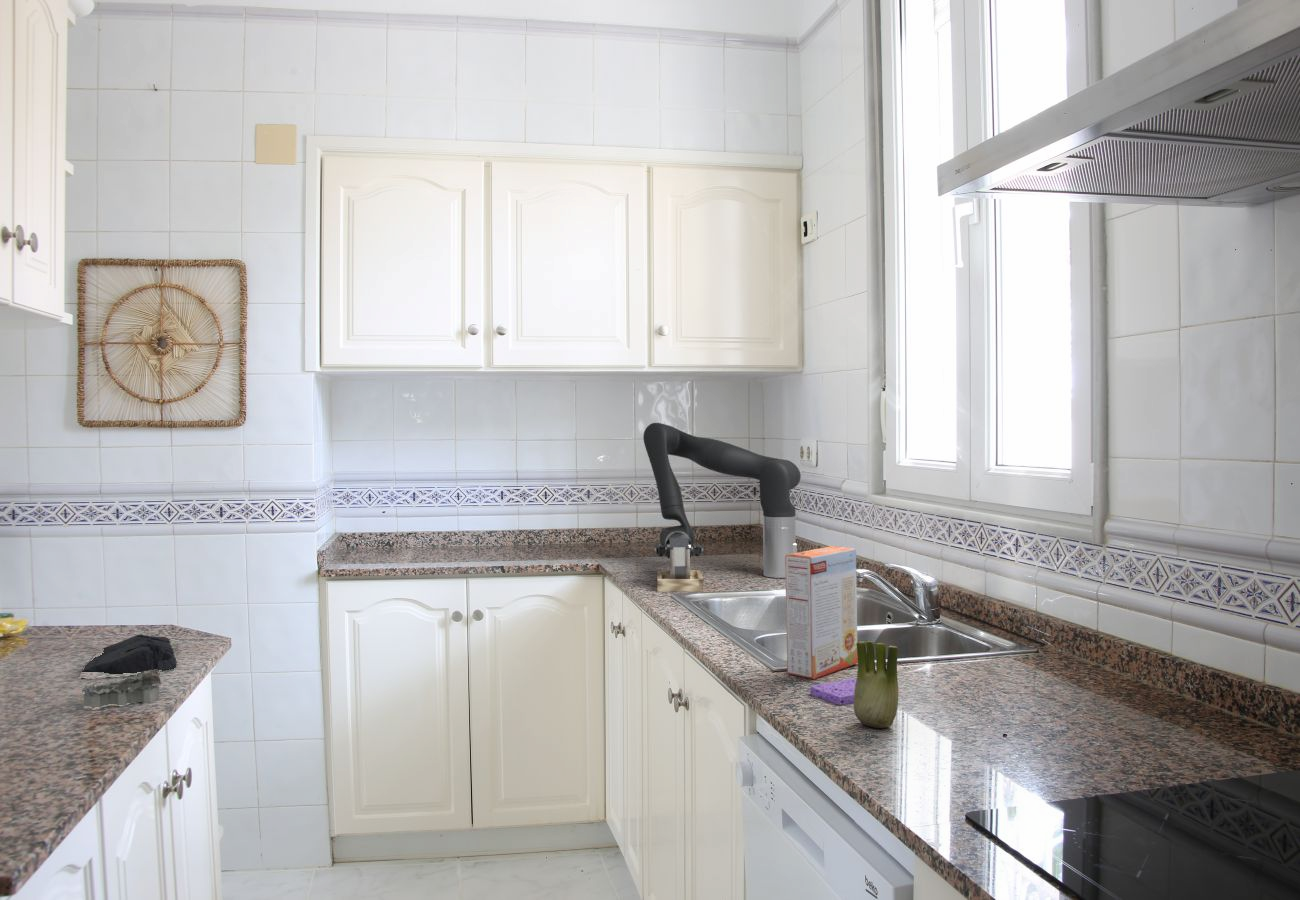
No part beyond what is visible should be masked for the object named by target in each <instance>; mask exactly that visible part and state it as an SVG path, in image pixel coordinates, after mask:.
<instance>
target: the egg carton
mask: <svg viewBox="0 0 1300 900" xmlns="http://www.w3.org/2000/svg"><path fill="white" fill-rule="evenodd" d="M160 673H161V672H159V669H156V670H149V671H143V672H141V673H138V674H137V676H129V677H125V679H122V680H118V681H109V682H105V683H103V684H101V685H100V684H98V685H96V686H95V684H91V685H89V684H88V685H87V684H85V685H84V687H83V688H82V690H81V691H82V693H83V692H84V694H83V696H82V698H83V707H84V706H91V707H92V708H95V707H101V706H103V705H108V704H117V705H126V704H127V703H131V702H143V703H148V704H151V703H153V702H155V701H160V694H161V693H160V686H162V681H161V679H160ZM152 701H153V702H152ZM143 703H142V704H143Z"/></svg>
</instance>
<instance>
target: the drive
mask: <svg viewBox="0 0 1300 900" xmlns="http://www.w3.org/2000/svg"><path fill="white" fill-rule="evenodd" d="M671 549H674V550H675V579H685V550H686V549H689V537H688V535H670V550H671Z"/></svg>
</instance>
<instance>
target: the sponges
mask: <svg viewBox="0 0 1300 900" xmlns="http://www.w3.org/2000/svg"><path fill="white" fill-rule="evenodd" d="M856 679H857V677H853V678H850V679H843V680H837V681H836V680H835V682H834V681H832V682H826V683H822V684H821V683H819V684H812V685H809V688H810V689H809V693H810V694H809V695H811V696H814V697H817V698H819V699H822V700H825V701H828V702H830V703H833V704H837V705H839V706H844V705H848V704H854V691H855V685H856Z"/></svg>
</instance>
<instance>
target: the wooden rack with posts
mask: <svg viewBox="0 0 1300 900" xmlns="http://www.w3.org/2000/svg"><path fill="white" fill-rule="evenodd" d="M656 576H657V577H656V578H657V579H656V581H657V585H656V587H657V592H662V593H663V592H664V593H665V592H700V591H699V590H704V577H703V573H702V571H701V569H698V570H697V569H693V570H692V569H691V558H690V550H689V549H686V550H685V579H675V550H674V549H671V550H670V558H669V569H667V570H663V569H662V570H657V575H656ZM704 591H705V590H704Z"/></svg>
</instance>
